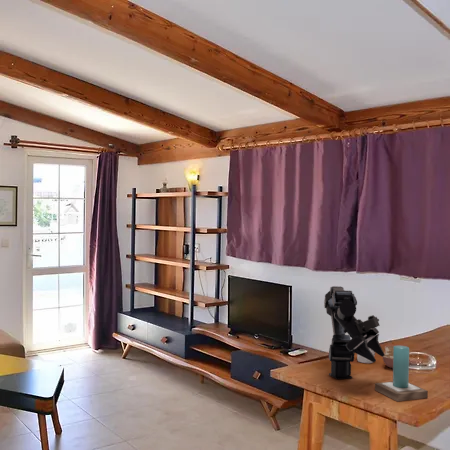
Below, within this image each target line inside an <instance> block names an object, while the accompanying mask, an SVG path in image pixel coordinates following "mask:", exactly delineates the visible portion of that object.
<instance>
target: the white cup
mask: <svg viewBox="0 0 450 450" xmlns="http://www.w3.org/2000/svg"><path fill="white" fill-rule="evenodd" d="M369 350H370V351H371V353H372V354H373V356H374V357H375V356H376V352H374V351H373V350H371V349H370V348H369ZM356 360H357V362H358V363H363V364H373V363H374V362H372V361H370V360H368V359H366V358H364V357H362V356H360V355H358V354H356Z"/></svg>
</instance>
